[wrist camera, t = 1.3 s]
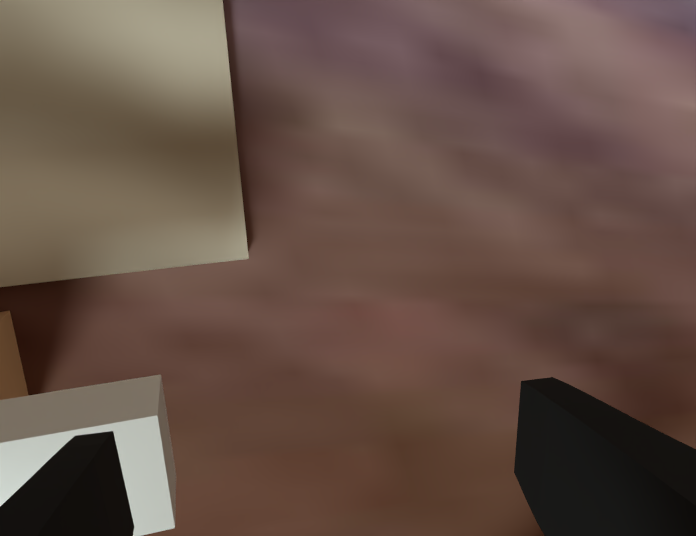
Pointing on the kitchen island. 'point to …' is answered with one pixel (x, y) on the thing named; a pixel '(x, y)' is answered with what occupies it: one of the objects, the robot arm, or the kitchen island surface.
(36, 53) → the pad
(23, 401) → the white long bar
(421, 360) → the kitchen island surface
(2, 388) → the tan rectangular block
